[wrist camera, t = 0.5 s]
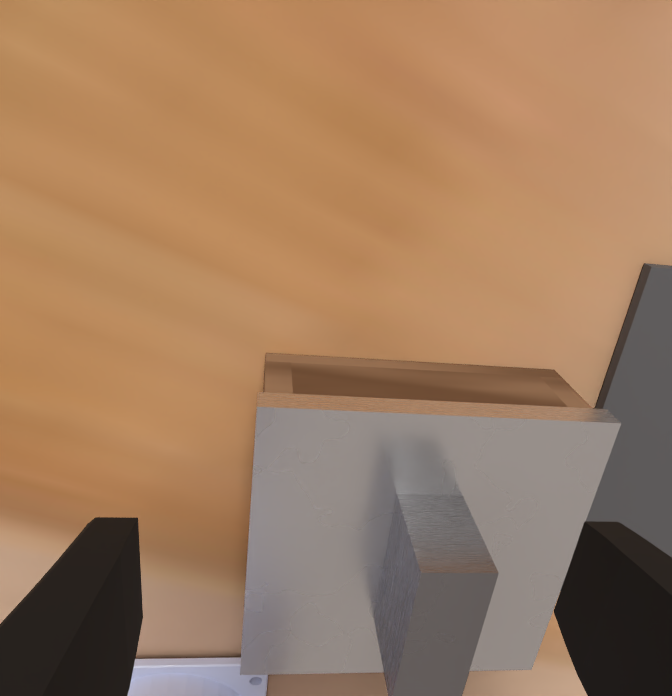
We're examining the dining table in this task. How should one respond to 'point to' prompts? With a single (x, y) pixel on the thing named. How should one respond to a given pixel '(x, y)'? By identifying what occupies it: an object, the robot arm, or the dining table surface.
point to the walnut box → (417, 381)
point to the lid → (412, 534)
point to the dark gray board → (641, 416)
